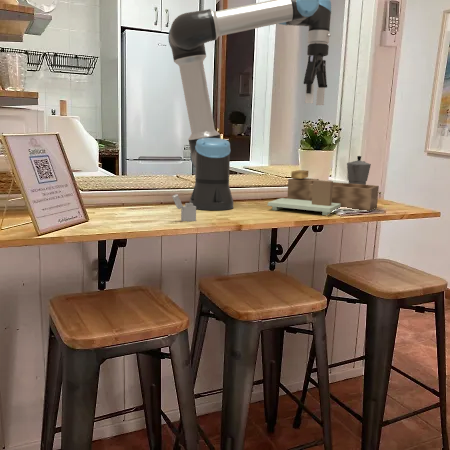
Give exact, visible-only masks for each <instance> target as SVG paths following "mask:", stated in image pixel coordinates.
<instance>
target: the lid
mask: <svg viewBox="0 0 450 450" xmlns="http://www.w3.org/2000/svg"><path fill="white" fill-rule="evenodd" d="M333 182H334V181H333V180H320V179H319V180H314V181H313V191H312V201H308V200H298V199H287V197H286V198H284V197H281V198H277V199H274V200H271V201H268V202H267V207H272V208H271V210H272V211H279V210H282V209H293V210H295V209H297V210H304V211H305V210H306V211H314V212H322V213H321V214H322V216H323V215H328V214H330V213H331V212H332V211H333V210H335V209H336V210H338V209H337V208H340V207H341V204H340V203H332V191H333ZM330 215H331V214H330ZM328 216H329V215H328Z"/></svg>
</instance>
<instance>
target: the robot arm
mask: <svg viewBox="0 0 450 450" xmlns="http://www.w3.org/2000/svg"><path fill="white" fill-rule="evenodd" d="M331 16H332V1H331V0H266V1H261V2H260V1H259V2H256V3H255V2H254V3H251V4H245V5H241V6H236V7H232V8H226V9H221V10H217V11H216V10H215V11H214V10H213V9H211V8H208V9H202V10H197V11H190V12H185V13H182V14H179V15H177V17H175V18H174V20H173V21H172V24H171V26H170V29H169V31H168V45H169V47H170V48H171V53H172V58H173V62H174V63H175V64H176V65H177V66H178V67H179V73H180V78H181V83H182V89H183V93H184V94H183V95H184V100H185V106H186V111H187V115H188V116H187V117H188V121H189V127H190V132H191V134H190V136H189V137H188V139H187V140H188V143H189V150H190V162H191V164H192V166H193V167H194V168H195V170H194V171H195V178H194V179H195V180H194V183H195V184H194V186H193V191H192V193H191V196H190V200H189V203H193V206H196V210H202V211H203V210H204V211H205V210H206V211H226V210H231V209H234V199H233V195H232V191H231V187H230V167H231V165H230V163H231V162H230V161H231V160H230V159H231V143H230V141H228V140H227V139H225V138H221V135H220V132H218V131H217V130H216V129H215V124H214V116H213V112H212V107H211V101H210V95H209V89H208V83H207V78H206V72H205V67H204V61H205V59H206V57H207V52H206V46H205V44H206V43H209V42H213V41H216V40H218V38H219V37H220V36H227V35H231V34H236V33H240V32H246V31H250V30H254V29H258V28H264V27H270V26H273V25H277V24H278V25H282V26H287V27H288V26H294V27H295V26H299V27H308V32H307V33H308V34H307V43H308V45H307V51H306V52H307V56H308V57H307V58H308V59H307V65H306V69H305V73H304V80H303V84H304V85H305V97H304V98H305V99H304V104H313V103H314V92H315V90H314V89H315V84H314V81H315V79H316V80H317V87H316V100H315V101H316V102H315V105H316V106H324V105H325V104H324V103H325V91H326V90H325V89H326V88H328V84H327V83H328V82H327V70H326V69H327V67H326V64H327V62H326V61H327V60H325V59H324V57H327V56H328V55H329V48H330V47H329V42H330V37H331V33H330V32H331V31H330V30H331V29H330V28H331V27H330V26H331V18H332V17H331Z"/></svg>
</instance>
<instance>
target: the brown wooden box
mask: <svg viewBox="0 0 450 450" xmlns="http://www.w3.org/2000/svg"><path fill="white" fill-rule="evenodd" d="M314 180H320V179H319V178H309V177H307V178H303V179H298V178H287V181H288V182H287V194H286V195H287V196H286V198H287V199H298V200H308V201H312V191H313V181H314ZM379 188H380V187H379V185H374V184H366V185H363V184H349V182H348V183H347V182H346V183H345V182H336V181H335V182H334V181H333V191H332V203H340V204H341V207H347V208H352V209H359V210H367V211H370V210H372V209H374V208H375V209H376V208H378V200H379V199H378V198H379ZM375 209H374V210H375ZM372 211H373V210H372ZM370 212H371V211H370Z"/></svg>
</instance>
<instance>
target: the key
mask: <svg viewBox="0 0 450 450" xmlns="http://www.w3.org/2000/svg"><path fill="white" fill-rule="evenodd" d="M290 175H291V178H290V179H292V178H298V179H303V178H309V170H305V169H302V170H301V169H298V170H297V169H296V170H291V174H290Z"/></svg>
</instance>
